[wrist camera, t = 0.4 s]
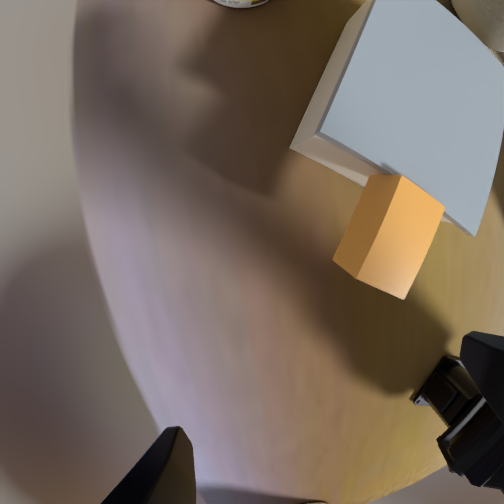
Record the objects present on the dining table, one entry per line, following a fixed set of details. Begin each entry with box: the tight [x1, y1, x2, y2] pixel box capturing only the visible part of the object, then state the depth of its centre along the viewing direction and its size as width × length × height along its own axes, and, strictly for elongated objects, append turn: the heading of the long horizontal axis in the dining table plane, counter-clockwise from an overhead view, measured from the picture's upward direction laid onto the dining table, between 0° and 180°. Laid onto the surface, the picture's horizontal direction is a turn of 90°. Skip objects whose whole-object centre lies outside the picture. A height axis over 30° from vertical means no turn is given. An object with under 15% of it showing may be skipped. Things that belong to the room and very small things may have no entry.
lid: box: [315, 0, 504, 300], centre depth 12 cm, size 11×17×3 cm, turn 156°
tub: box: [289, 0, 453, 224], centre depth 14 cm, size 10×12×7 cm
